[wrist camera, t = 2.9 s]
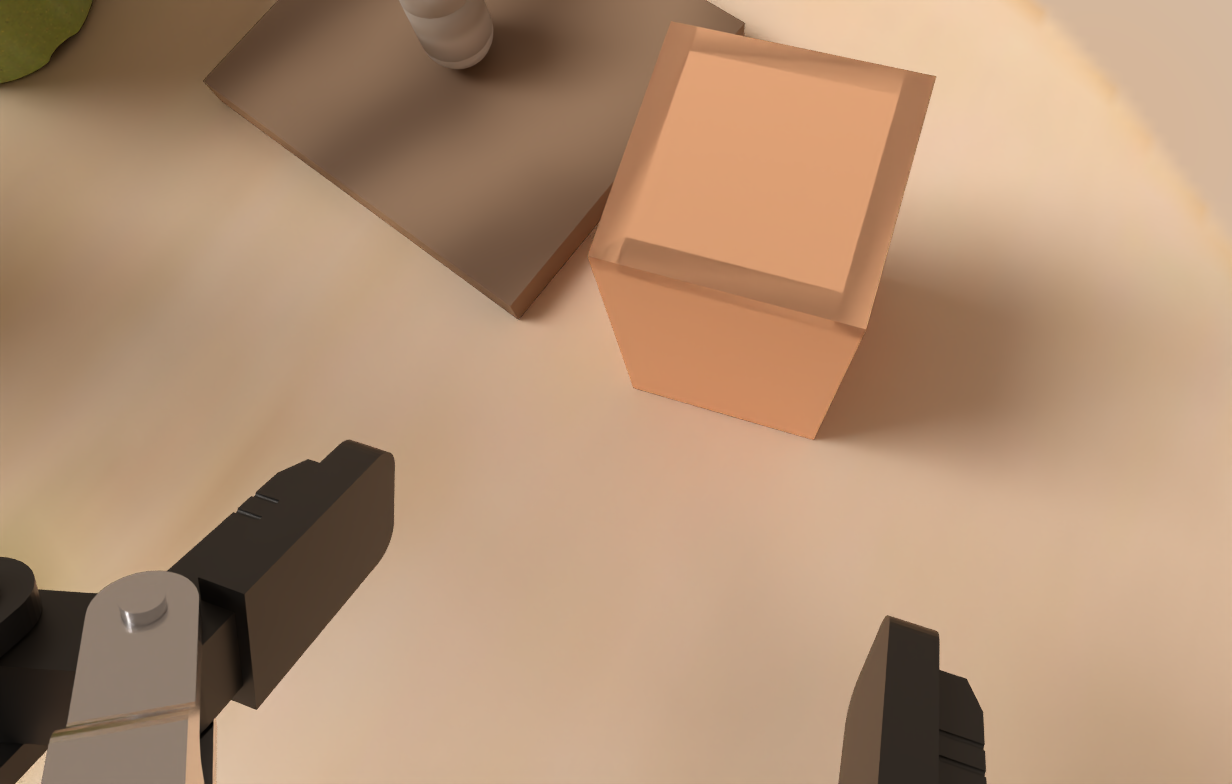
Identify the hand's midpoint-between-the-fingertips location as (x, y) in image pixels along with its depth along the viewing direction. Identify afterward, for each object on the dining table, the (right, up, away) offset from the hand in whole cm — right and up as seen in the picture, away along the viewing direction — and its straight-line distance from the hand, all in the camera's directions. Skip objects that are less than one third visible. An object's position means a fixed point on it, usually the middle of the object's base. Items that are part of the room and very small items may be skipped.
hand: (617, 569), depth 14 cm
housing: (+4, +5, +14) cm, 15 cm away
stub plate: (-5, +14, +17) cm, 22 cm away
